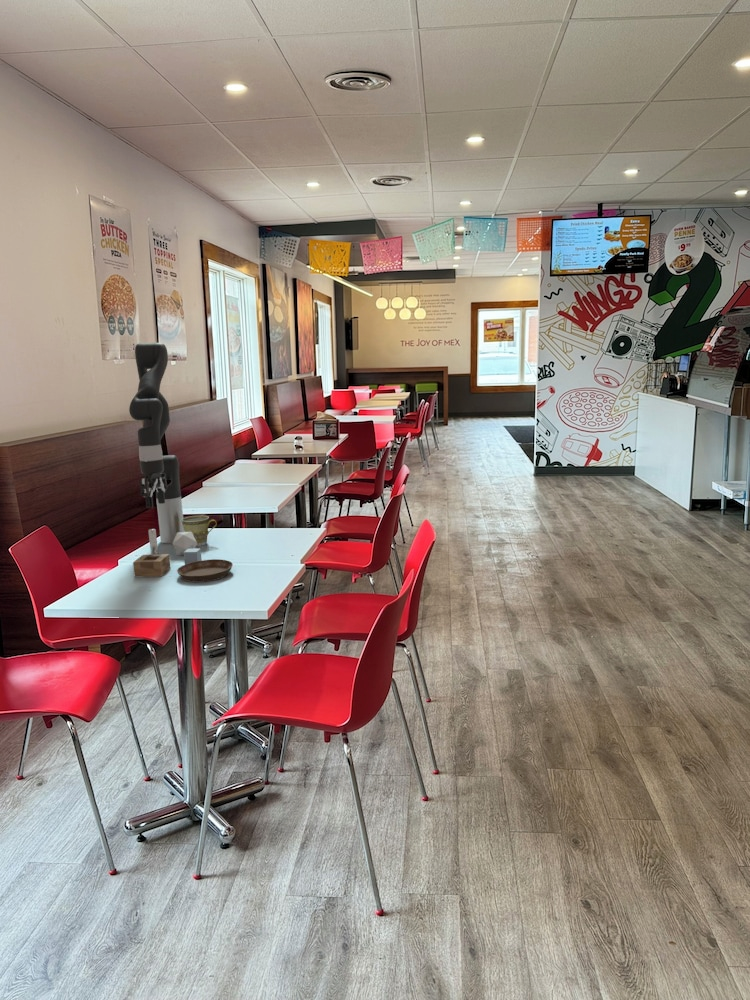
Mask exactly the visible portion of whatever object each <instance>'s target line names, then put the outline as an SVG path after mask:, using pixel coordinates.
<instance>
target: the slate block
mask: <svg viewBox="0 0 750 1000" xmlns="http://www.w3.org/2000/svg"><path fill="white" fill-rule="evenodd" d="M183 560H184V565H186V564H189V563H192V562H196V561H202V560H203V559H202V550H201V548H197V547H195V549H187V550H186V551H185V552H184V555H183Z"/></svg>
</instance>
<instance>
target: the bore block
mask: <svg viewBox="0 0 750 1000" xmlns="http://www.w3.org/2000/svg"><path fill="white" fill-rule="evenodd" d="M132 564H133V565H132V568H133V574H134V578H150V577H151V578H153V577H163V576H164V575H166V573H168V571H170V569H171V568H172V567H171V560H170V554H169V553H161V554H159V553H158V554H152V555H151V554H142V555H141V556H139V557H138V558H137V559H136V560H134V561H133V562H132Z"/></svg>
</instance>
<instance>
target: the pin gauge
mask: <svg viewBox="0 0 750 1000" xmlns="http://www.w3.org/2000/svg"><path fill="white" fill-rule="evenodd" d="M148 538H149V539H148V540H149V550H150V555H152V554H159V549H158V539H157V529H155V528H150V529H148Z"/></svg>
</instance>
